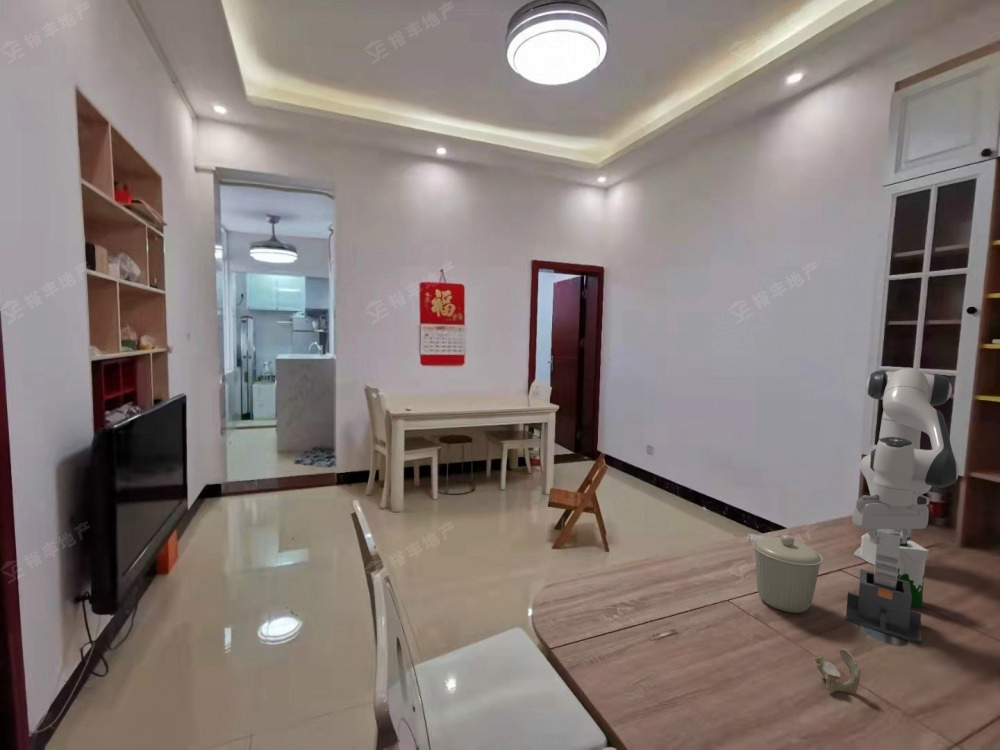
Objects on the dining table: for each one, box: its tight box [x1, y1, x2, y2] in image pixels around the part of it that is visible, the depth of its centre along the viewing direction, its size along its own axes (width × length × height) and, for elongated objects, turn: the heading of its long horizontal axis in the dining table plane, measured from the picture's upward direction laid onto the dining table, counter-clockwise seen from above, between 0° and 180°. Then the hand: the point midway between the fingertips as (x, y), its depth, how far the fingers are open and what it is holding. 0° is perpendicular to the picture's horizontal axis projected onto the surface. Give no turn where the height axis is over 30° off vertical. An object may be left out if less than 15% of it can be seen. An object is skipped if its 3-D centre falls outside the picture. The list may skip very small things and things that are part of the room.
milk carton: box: [897, 540, 930, 609], centre depth 140 cm, size 9×9×20 cm
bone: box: [814, 648, 862, 695], centre depth 103 cm, size 9×6×10 cm
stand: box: [845, 568, 923, 645], centre depth 130 cm, size 16×16×11 cm
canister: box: [751, 534, 824, 614], centre depth 136 cm, size 18×18×21 cm
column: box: [873, 529, 900, 590], centre depth 129 cm, size 6×5×24 cm
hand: (887, 542), depth 129 cm, fingers closed on column, 7 cm apart
